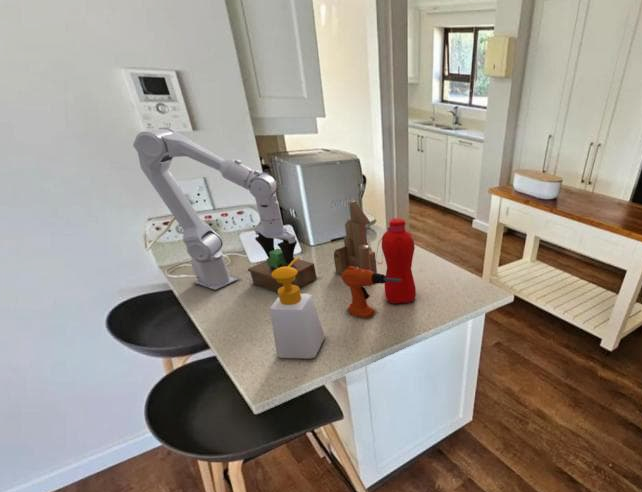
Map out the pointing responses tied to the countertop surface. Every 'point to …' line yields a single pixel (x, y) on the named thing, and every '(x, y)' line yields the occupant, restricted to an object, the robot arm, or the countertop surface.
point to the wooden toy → (355, 244)
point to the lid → (267, 271)
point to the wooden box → (272, 284)
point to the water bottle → (398, 262)
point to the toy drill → (362, 289)
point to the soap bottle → (294, 318)
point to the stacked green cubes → (276, 259)
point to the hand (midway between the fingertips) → (280, 259)
